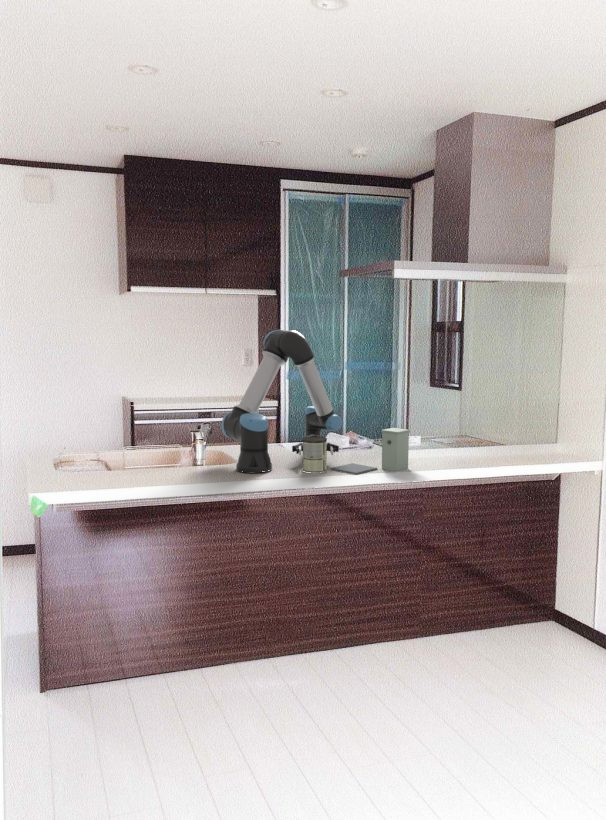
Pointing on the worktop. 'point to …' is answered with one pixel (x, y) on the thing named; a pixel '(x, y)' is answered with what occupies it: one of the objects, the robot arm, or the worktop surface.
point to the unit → (395, 449)
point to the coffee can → (314, 454)
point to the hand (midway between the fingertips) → (316, 452)
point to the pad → (354, 468)
